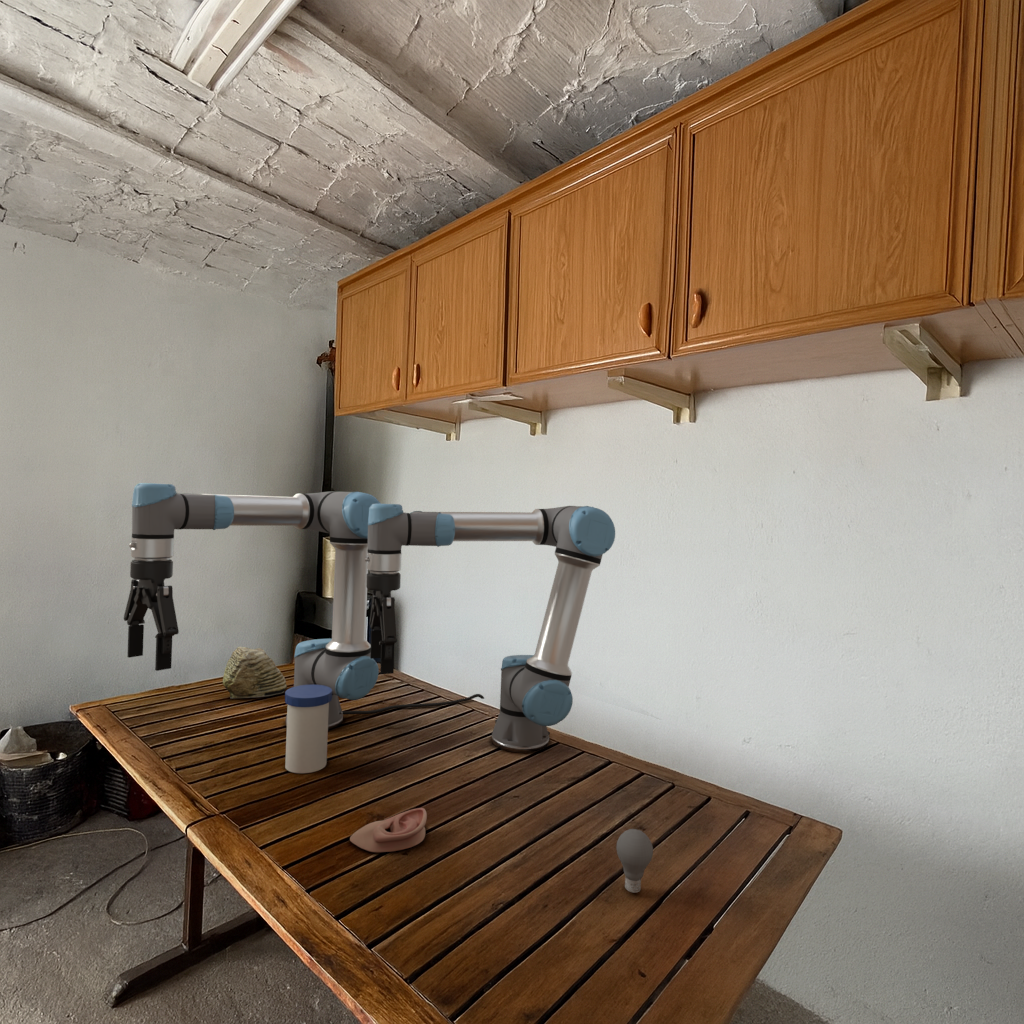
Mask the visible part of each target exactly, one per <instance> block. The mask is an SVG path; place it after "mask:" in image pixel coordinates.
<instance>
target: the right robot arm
mask: <svg viewBox="0 0 1024 1024" xmlns="http://www.w3.org/2000/svg"><path fill="white" fill-rule="evenodd" d="M615 540H616V527H615V524H614V521H613V519H612V518H611V517H610V515H609V514H608V513H607V512H605V511H604V510H602V509H600V508H598V507H594V506H589V505H584V506H581V505H579V506H578V505H566V506H565V505H564V506H557V507H550V508H535V509H534V510H533V511H532V512H520V511H519V512H516V511H515V512H513V511H511V512H510V511H508V512H505V511H503V512H502V511H501V512H500V511H499V512H498V511H497V512H496V511H495V512H494V511H421V510H413V511H412V512H411V511H410V512H404V510H403V505H402V504H400V503H381V504H372V505H371V506H370V508H369V518H368V557H365V561H366V562H367V561H368V562H367V569H368V574H367V585H366V587H367V590H369V591H371V592H372V599H371V607H370V616H369V622H368V624H369V626H370V645H371V649H370V658H371V659H380V668H379V669H380V670H379V671H380V672H379V674H380V675H392V674H394V668H395V667H394V666H395V665H394V664H395V644H396V643H397V642H398V638H397V626H396V625H397V624H396V611H395V610H396V609H395V608H396V607H395V606H396V605H395V601H396V599H395V597H393V596H392V594H391V593H392V592H393V591H398V590H400V588H401V576H402V575H401V573H400V571H401V570H402V546H405V547H409V546H415V547H417V546H419V547H437V548H440V547H447V546H451V545H452V544H453V543H454V542H532V543H533V544H534V545H536V546H548V547H549V546H550V547H555V550H554V556H555V558H556V559H557V561H558V562H557V566H556V571H555V574H554V577H553V582H552V586H551V590H550V593H549V598H548V601H547V605H546V609H545V612H544V617H543V620H542V623H541V624H542V625H541V628H540V632H539V635H538V640H537V643H536V646H535V647H536V648H535V652H534V654H512V655H507V656H505V657H504V658H502V660H501V668H500V672H501V673H500V693H499V697H500V699H499V702H500V703H499V712H498V715H497V719H495V721H494V727H493V729H492V732H491V743H492V745H494V746H495V747H496V748H498V749H500V750H503V751H506V752H511V753H519V754H520V753H521V754H526V753H529V754H530V753H537V752H540V751H542V750H545V749H546V748H548V746H549V744H550V735H551V732H550V731H549V730H548V727H552V726H555V725H558V723H560V722H563V720H565V719H566V718H567V716H568V715H569V714H570V712H571V710H572V707H573V702H574V701H573V699H574V698H573V693H572V691H571V689H570V683H571V680H572V676H573V672H572V670H571V668H570V666H569V661H570V659H571V655H572V651H573V646H574V643H575V638H576V635H577V631H578V627H579V623H580V619H581V615H582V611H583V607H584V604H585V599H586V596H587V592H588V588H589V584H590V580H591V576H592V573H593V571H594V570H595V569H597V568H598V567H600V566H601V563H602V559H603V555H605V554H606V553H607V552H608V551H609V550H611V548H612V546H613V545H614V543H615Z"/></svg>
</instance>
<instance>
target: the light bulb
mask: <svg viewBox="0 0 1024 1024" xmlns="http://www.w3.org/2000/svg"><path fill="white" fill-rule="evenodd" d="M615 849H616V854H617V857H618V859H619V861H620V863H621V865H622V867H623V873H624V874H623V875H624V876H625V878H624V888H625V890H627V891H628V892H630V893H634V894H635V893H639V892H640V891H641V889H642V887H641V886H642V879H643V877H644V875H645V871H646V868H647V867H648V866H649V864H650V863H651V861H652V859H653V855H654V847H653V843H652V841H651V838H649V836H648V835H647V834H646V833H645V832H643V831H642V830H641V829H636V828H629V829H627V830H625V831H623V832H622V833H621V834H620V835H619V837H618V839H617V841H616V847H615Z"/></svg>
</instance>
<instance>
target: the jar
mask: <svg viewBox="0 0 1024 1024" xmlns="http://www.w3.org/2000/svg"><path fill="white" fill-rule="evenodd" d="M286 709H287V710H286V712H287V713H286V715H287V726H286V736H285V737H286V738H285V759H284V760H285V761H284V762H285V763H284V764H285V765H284V768H285V770H286V771H288V772H290V773H294V774H311V773H315V772H318V771H321V770H323V769H324V768H326V766H327V764H328V763H327V762H328V738H329V737H328V735H329V730H328V713H329V703H327V704H324V705H320V706H315V707H295V706H290V705H288V704H287V707H286Z"/></svg>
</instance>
